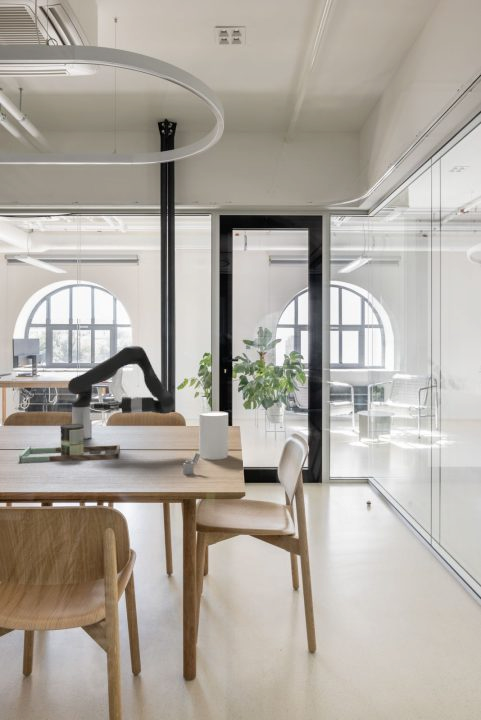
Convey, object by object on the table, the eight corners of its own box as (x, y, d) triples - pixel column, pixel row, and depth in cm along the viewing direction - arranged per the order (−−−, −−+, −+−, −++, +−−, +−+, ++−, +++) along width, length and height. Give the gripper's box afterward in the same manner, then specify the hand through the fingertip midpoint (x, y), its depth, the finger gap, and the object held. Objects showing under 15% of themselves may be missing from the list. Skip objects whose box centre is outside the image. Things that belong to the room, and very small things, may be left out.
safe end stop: (56, 451, 242) (56, 445, 242) (49, 461, 224) (49, 454, 224) (28, 452, 240) (28, 446, 239) (19, 462, 222) (19, 455, 221)
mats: (115, 450, 246) (115, 449, 246) (114, 457, 232) (114, 456, 232) (90, 451, 243) (90, 450, 243) (87, 458, 229) (87, 457, 229)
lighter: (184, 474, 204) (184, 455, 204) (182, 473, 206) (182, 454, 205) (200, 472, 207) (200, 453, 207) (198, 471, 209) (198, 452, 209)
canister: (233, 455, 236) (234, 413, 235) (213, 461, 226) (213, 417, 225) (213, 451, 245) (214, 410, 244) (193, 455, 235) (193, 413, 234)
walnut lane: (119, 449, 248) (119, 445, 248) (118, 458, 230) (118, 453, 230) (28, 452, 240) (28, 448, 239) (19, 462, 222) (19, 457, 221)
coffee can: (58, 458, 229) (57, 427, 228) (64, 452, 239) (63, 423, 239) (81, 458, 230) (80, 427, 229) (86, 452, 240) (85, 423, 240)
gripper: (132, 395, 245) (95, 396, 242) (131, 398, 232) (92, 399, 229) (132, 410, 246) (95, 411, 242) (131, 414, 233) (93, 416, 229)
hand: (94, 405), depth 236 cm, fingers closed
